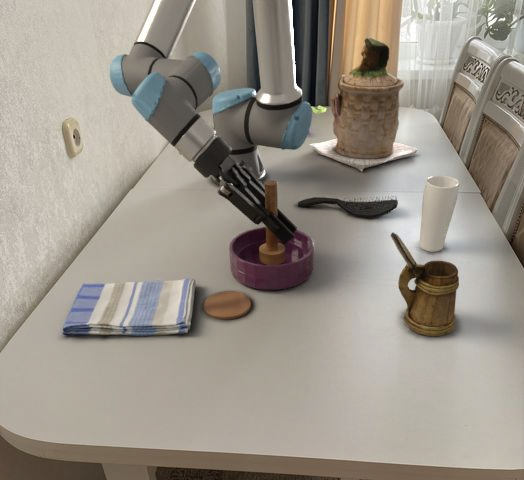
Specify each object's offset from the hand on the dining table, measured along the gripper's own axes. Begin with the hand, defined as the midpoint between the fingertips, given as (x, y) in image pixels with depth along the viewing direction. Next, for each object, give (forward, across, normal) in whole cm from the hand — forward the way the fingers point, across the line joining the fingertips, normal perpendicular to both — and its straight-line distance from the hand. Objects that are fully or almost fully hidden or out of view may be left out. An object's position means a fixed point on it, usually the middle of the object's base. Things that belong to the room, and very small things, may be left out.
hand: (290, 236), depth 111 cm
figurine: (-6, -98, -18) cm, 100 cm away
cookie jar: (+12, -74, +1) cm, 75 cm away
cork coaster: (-1, +15, -12) cm, 20 cm away
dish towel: (-13, +20, -25) cm, 35 cm away
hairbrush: (+12, -32, 0) cm, 34 cm away
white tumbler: (+26, -15, +15) cm, 34 cm away
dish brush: (+2, 0, -8) cm, 8 cm away
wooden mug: (+24, +14, +13) cm, 31 cm away
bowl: (+3, +1, -8) cm, 9 cm away
